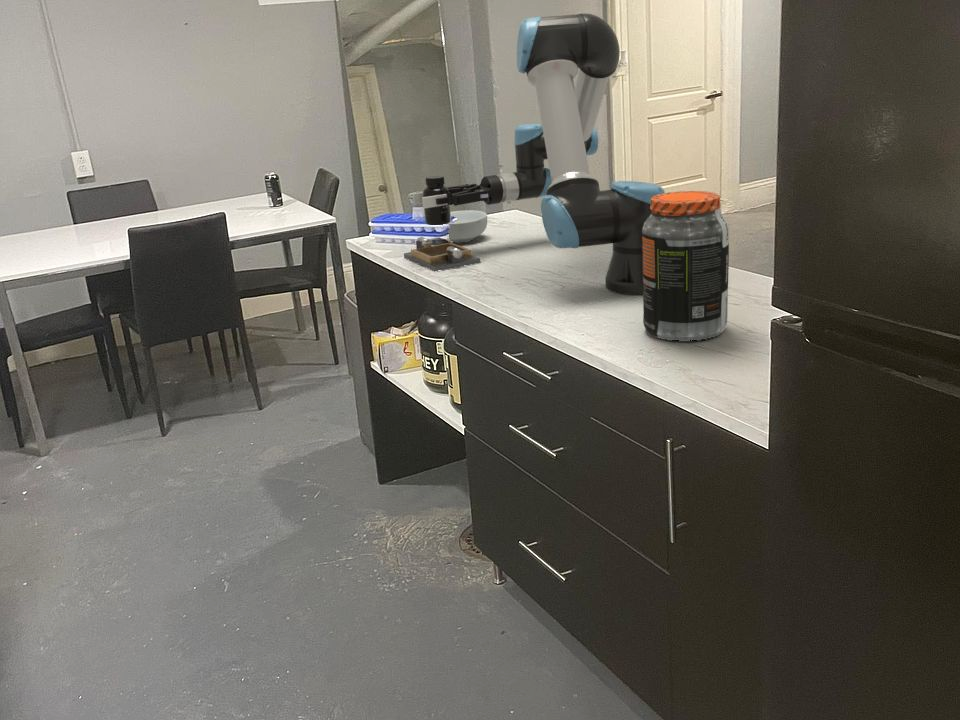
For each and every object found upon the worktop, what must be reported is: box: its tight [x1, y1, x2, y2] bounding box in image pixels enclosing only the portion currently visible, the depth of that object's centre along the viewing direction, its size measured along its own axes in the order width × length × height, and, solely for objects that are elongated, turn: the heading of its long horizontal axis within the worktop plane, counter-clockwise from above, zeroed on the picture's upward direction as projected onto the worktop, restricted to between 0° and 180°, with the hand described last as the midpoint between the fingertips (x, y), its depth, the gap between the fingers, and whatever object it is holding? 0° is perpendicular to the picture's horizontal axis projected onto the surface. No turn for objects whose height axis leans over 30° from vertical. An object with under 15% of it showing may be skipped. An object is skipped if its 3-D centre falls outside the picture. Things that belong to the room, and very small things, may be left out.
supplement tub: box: [642, 190, 730, 342], centre depth 169 cm, size 16×16×26 cm
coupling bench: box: [403, 236, 482, 272], centre depth 239 cm, size 21×13×5 cm, turn 28°
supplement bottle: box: [422, 175, 451, 226], centre depth 235 cm, size 7×7×12 cm
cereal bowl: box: [448, 209, 488, 243], centre depth 260 cm, size 17×17×7 cm
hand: (418, 200), depth 233 cm, fingers closed on supplement bottle, 7 cm apart
